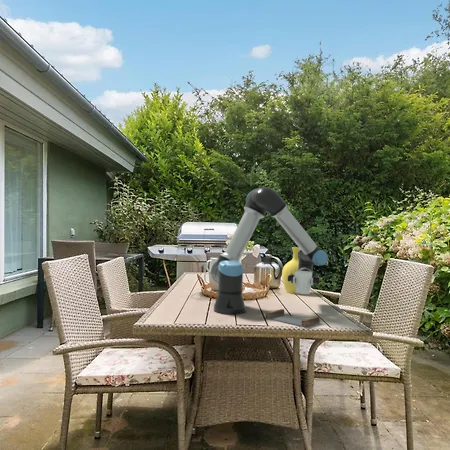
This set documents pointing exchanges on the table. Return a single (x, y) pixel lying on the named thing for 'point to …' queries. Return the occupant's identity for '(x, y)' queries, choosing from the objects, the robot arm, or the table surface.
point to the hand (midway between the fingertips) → (302, 281)
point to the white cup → (303, 282)
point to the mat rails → (304, 322)
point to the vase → (291, 271)
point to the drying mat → (290, 320)
